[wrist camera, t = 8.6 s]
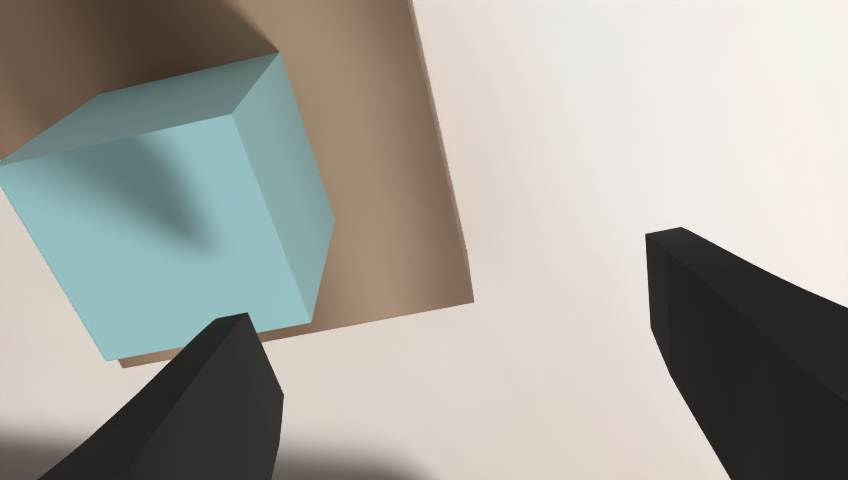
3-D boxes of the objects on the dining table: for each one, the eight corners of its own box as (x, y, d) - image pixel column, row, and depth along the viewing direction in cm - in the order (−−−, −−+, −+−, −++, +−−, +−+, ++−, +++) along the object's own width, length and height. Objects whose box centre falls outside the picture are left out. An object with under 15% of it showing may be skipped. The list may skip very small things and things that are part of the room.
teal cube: (280, 52, 16) (231, 113, 12) (335, 220, 19) (311, 322, 14) (99, 93, 17) (-11, 168, 13) (175, 252, 19) (106, 361, 15)
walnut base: (385, -121, 17) (380, -121, 15) (467, 254, 23) (474, 302, 20) (-22, -17, 18) (-94, 0, 16) (154, 315, 24) (123, 368, 21)
